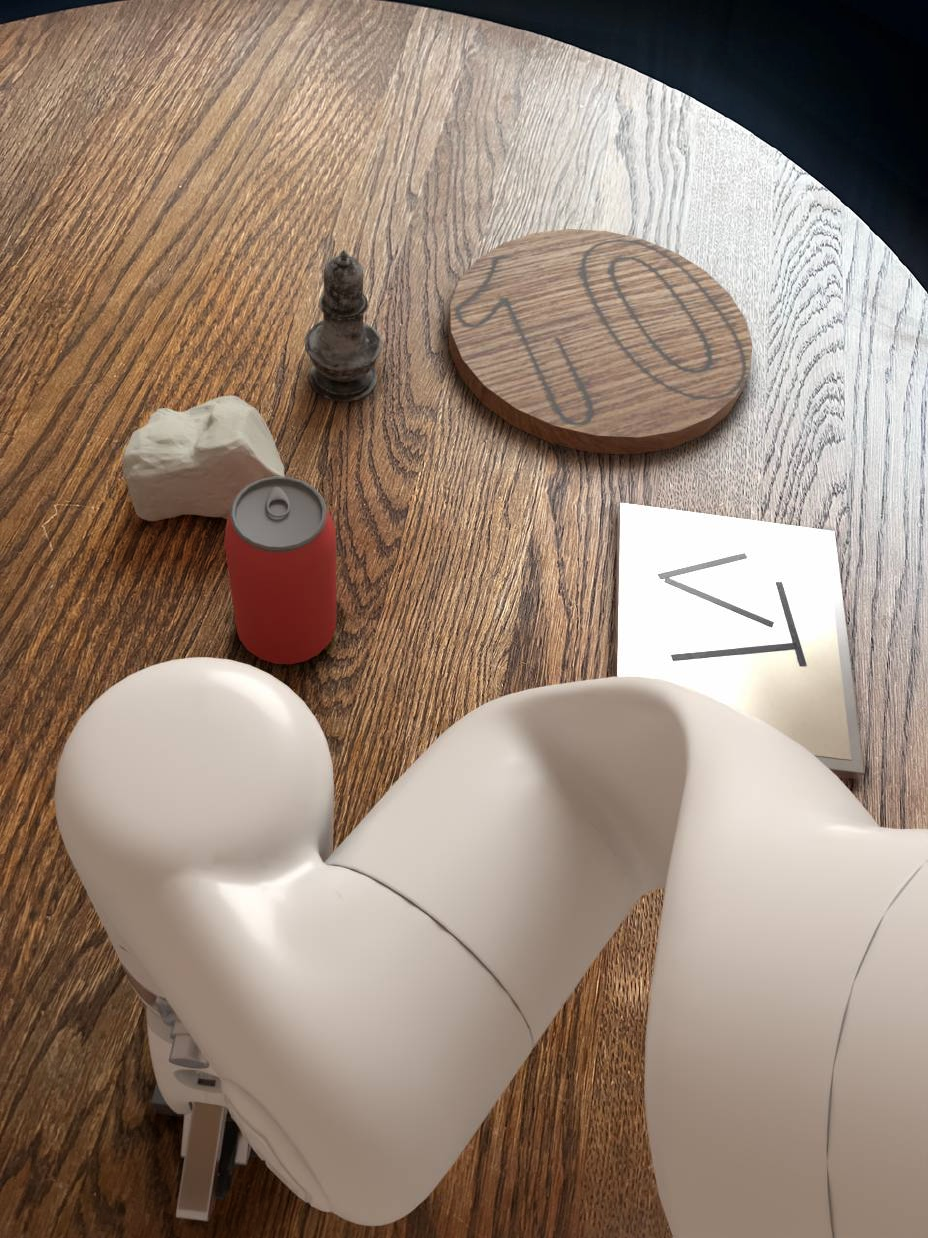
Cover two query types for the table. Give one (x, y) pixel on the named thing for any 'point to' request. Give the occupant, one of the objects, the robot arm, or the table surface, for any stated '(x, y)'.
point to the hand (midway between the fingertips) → (249, 1036)
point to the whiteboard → (741, 621)
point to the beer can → (282, 569)
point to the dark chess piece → (343, 335)
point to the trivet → (599, 341)
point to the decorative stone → (198, 459)
